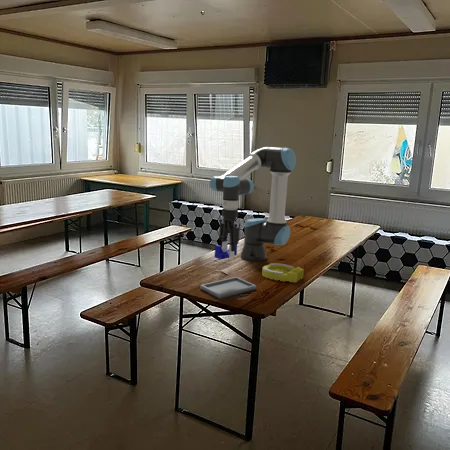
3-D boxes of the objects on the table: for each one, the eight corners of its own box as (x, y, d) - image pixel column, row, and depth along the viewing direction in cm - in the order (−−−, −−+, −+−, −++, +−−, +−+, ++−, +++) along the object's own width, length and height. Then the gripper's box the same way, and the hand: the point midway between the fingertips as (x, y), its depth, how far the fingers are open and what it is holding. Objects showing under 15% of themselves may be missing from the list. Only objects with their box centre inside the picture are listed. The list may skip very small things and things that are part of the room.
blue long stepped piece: (221, 259, 214) (221, 247, 213) (214, 257, 218) (215, 245, 216) (238, 255, 223) (239, 243, 222) (232, 253, 226) (233, 242, 225)
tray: (236, 280, 228) (236, 276, 227) (256, 289, 216) (256, 285, 216) (200, 289, 215) (200, 285, 214) (219, 299, 203) (219, 294, 203)
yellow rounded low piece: (292, 285, 225) (292, 275, 224) (256, 276, 236) (256, 267, 235) (306, 276, 238) (307, 267, 237) (271, 268, 250) (272, 259, 248)
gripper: (212, 206, 221) (211, 252, 225) (235, 212, 207) (233, 261, 211) (225, 205, 225) (223, 250, 230) (248, 211, 211) (245, 259, 216)
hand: (227, 255), depth 221 cm, fingers closed on blue long stepped piece, 5 cm apart
